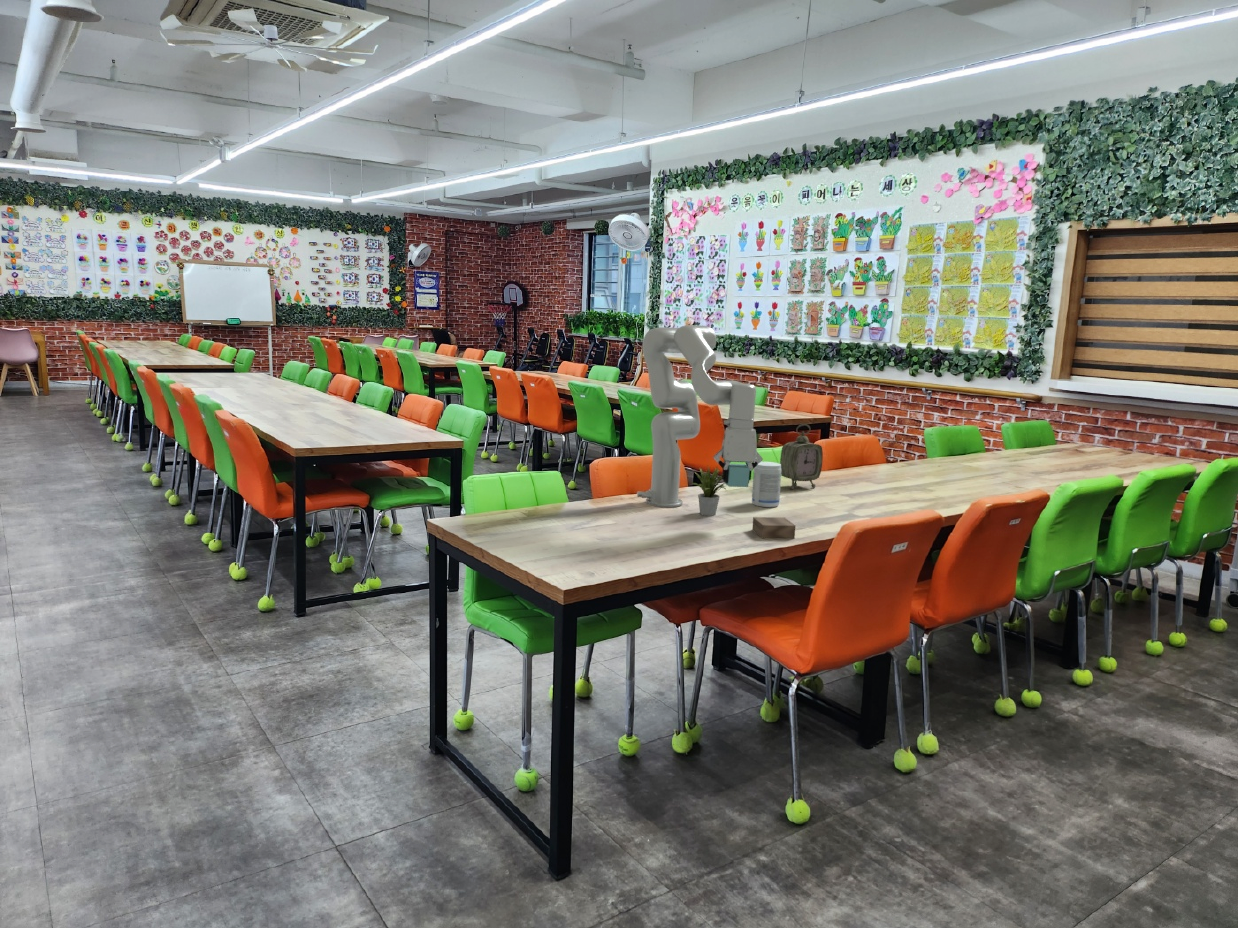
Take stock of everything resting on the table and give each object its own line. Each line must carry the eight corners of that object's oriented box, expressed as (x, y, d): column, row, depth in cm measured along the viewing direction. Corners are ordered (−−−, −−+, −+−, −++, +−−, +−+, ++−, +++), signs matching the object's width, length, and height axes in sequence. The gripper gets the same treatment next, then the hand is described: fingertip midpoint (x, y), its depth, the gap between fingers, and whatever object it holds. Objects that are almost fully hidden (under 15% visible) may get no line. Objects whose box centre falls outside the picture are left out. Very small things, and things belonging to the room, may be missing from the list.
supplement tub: (784, 505, 297) (787, 464, 294) (768, 509, 290) (771, 467, 288) (762, 500, 303) (765, 460, 301) (745, 503, 297) (748, 462, 294)
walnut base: (762, 538, 251) (762, 525, 250) (752, 529, 261) (753, 517, 260) (794, 538, 252) (795, 525, 252) (783, 530, 262) (784, 517, 261)
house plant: (728, 521, 270) (732, 471, 267) (685, 517, 272) (688, 468, 269) (731, 512, 283) (735, 464, 281) (690, 508, 286) (693, 460, 283)
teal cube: (729, 486, 257) (730, 467, 256) (724, 482, 263) (725, 463, 262) (748, 487, 258) (749, 467, 257) (742, 482, 264) (744, 463, 263)
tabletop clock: (791, 491, 323) (796, 426, 318) (776, 486, 331) (780, 422, 326) (820, 488, 330) (825, 425, 325) (804, 484, 338) (809, 422, 333)
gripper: (716, 425, 252) (711, 484, 256) (771, 427, 255) (766, 485, 258) (710, 421, 260) (705, 479, 263) (764, 423, 262) (759, 480, 265)
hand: (736, 481), depth 261 cm, fingers closed on teal cube, 6 cm apart
